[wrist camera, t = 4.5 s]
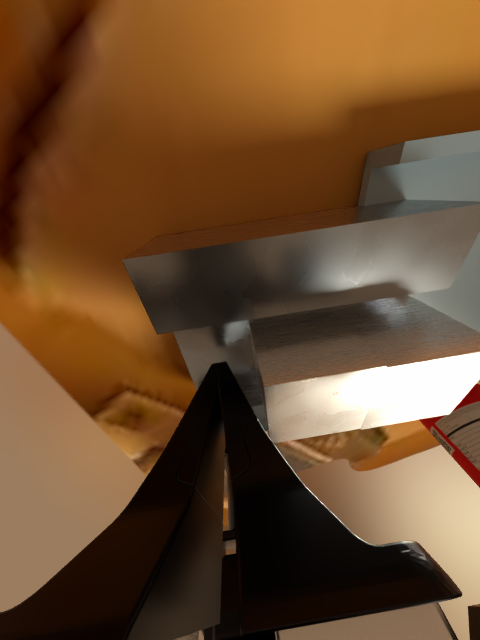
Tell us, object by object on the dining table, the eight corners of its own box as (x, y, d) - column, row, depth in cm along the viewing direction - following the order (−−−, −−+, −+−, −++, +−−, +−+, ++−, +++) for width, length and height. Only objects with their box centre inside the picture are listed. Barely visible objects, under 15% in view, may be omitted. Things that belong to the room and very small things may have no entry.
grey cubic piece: (320, 361, 12) (360, 428, 8) (255, 372, 12) (270, 443, 8) (327, 305, 9) (386, 365, 6) (248, 319, 9) (263, 386, 6)
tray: (476, 360, 17) (503, 378, 16) (324, 385, 17) (335, 405, 15) (680, 104, 8) (795, 81, 7) (367, 152, 8) (405, 141, 7)
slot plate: (350, 366, 16) (384, 411, 13) (209, 389, 16) (207, 440, 13) (397, 199, 9) (496, 201, 6) (156, 236, 9) (121, 260, 6)
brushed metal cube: (383, 351, 12) (449, 414, 8) (319, 363, 12) (360, 429, 8) (406, 293, 10) (507, 346, 6) (327, 307, 9) (385, 368, 6)
